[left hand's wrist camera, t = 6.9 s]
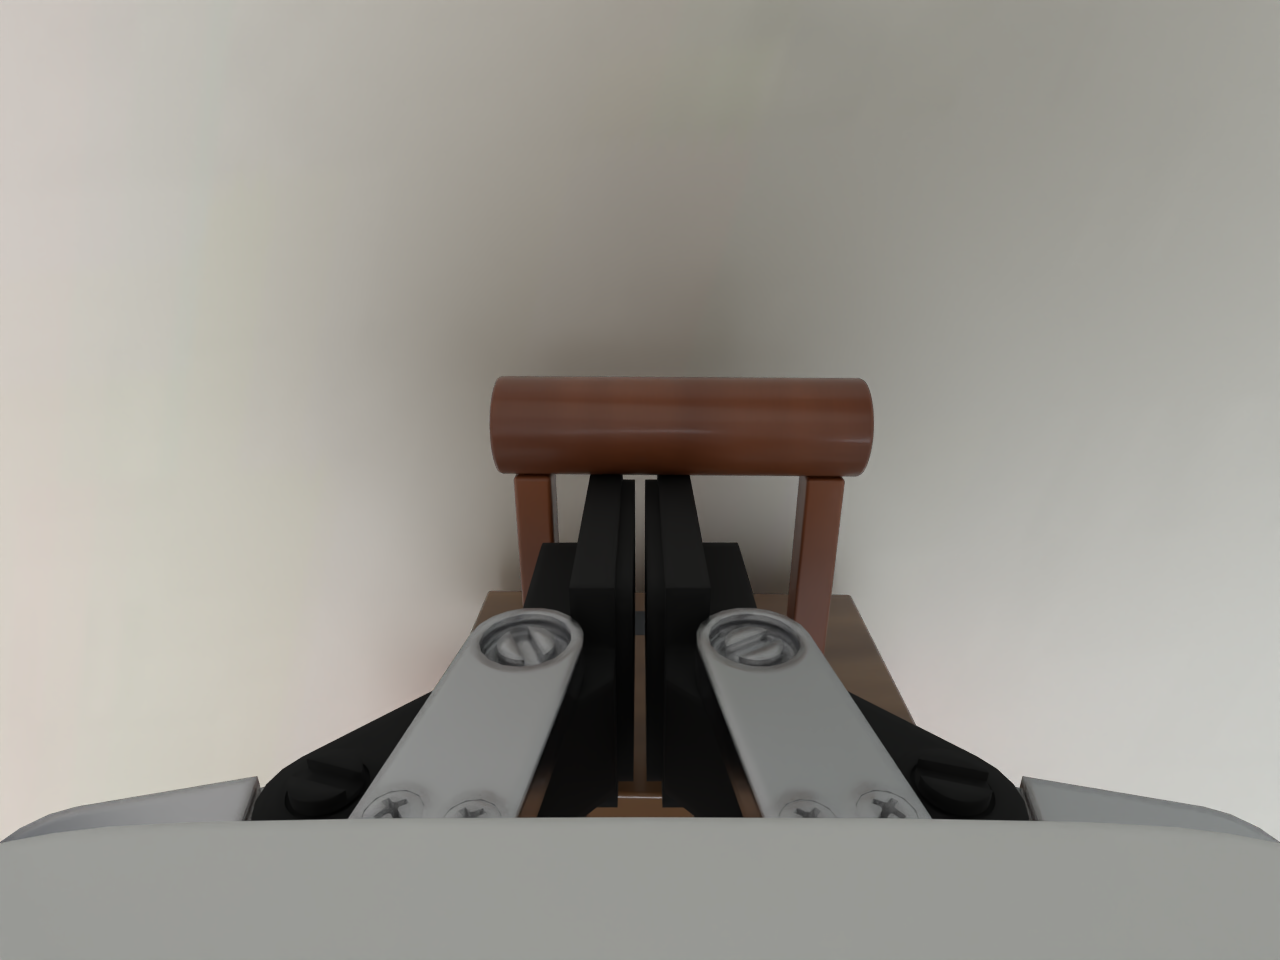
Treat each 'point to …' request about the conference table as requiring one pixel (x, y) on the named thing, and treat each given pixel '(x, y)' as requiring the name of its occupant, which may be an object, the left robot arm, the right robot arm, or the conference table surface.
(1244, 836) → the left robot arm
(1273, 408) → the conference table surface
